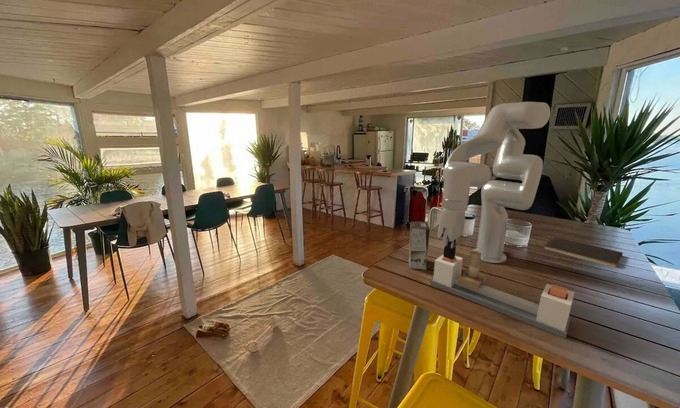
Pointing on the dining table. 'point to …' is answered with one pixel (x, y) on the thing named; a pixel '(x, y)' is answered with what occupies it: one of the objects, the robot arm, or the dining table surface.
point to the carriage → (473, 272)
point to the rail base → (501, 307)
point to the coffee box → (418, 245)
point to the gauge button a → (449, 259)
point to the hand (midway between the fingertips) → (448, 257)
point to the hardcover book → (584, 251)
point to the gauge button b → (558, 291)
